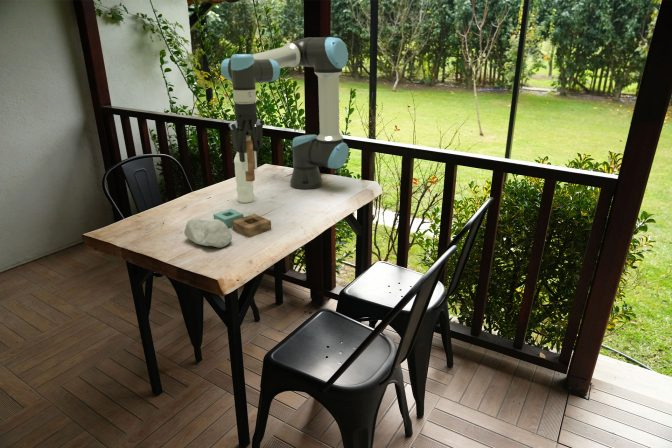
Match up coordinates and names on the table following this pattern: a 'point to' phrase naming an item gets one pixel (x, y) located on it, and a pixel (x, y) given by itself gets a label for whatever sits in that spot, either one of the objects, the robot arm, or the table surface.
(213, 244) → the decorative stone
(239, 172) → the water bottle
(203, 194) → the table surface
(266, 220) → the brown square socket block
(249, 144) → the brown wooden square peg
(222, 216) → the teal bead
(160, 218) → the table surface
